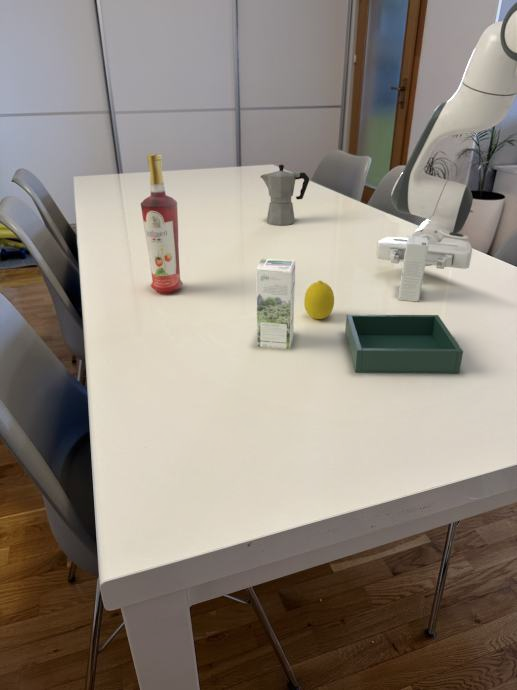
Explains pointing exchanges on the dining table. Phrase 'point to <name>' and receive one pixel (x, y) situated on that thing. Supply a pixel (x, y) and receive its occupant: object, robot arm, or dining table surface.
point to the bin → (402, 344)
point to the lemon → (319, 300)
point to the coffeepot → (282, 195)
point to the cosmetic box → (413, 268)
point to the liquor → (161, 232)
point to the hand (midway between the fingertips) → (417, 262)
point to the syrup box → (275, 303)
